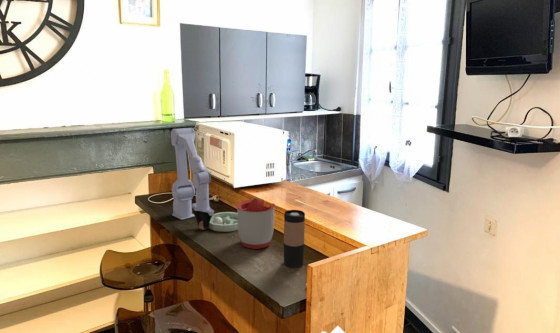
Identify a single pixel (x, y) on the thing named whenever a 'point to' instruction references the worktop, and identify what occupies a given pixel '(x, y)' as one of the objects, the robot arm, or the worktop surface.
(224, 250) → the worktop surface
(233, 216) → the tray
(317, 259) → the worktop surface
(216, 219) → the ivory bead
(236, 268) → the worktop surface
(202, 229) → the terracotta bead
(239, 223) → the citrus juicer
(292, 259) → the travel mug
